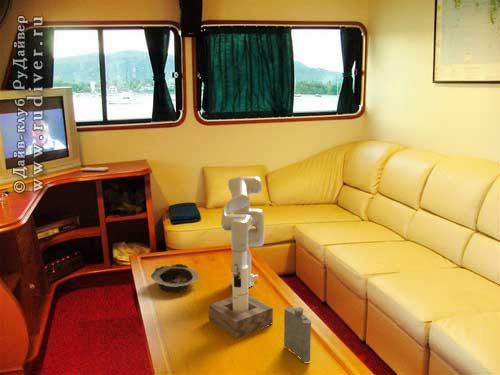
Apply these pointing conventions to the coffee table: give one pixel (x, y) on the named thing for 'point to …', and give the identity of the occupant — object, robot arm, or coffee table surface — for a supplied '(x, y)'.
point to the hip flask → (297, 332)
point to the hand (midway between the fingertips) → (240, 283)
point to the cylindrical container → (240, 292)
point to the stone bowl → (174, 277)
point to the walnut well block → (240, 317)
